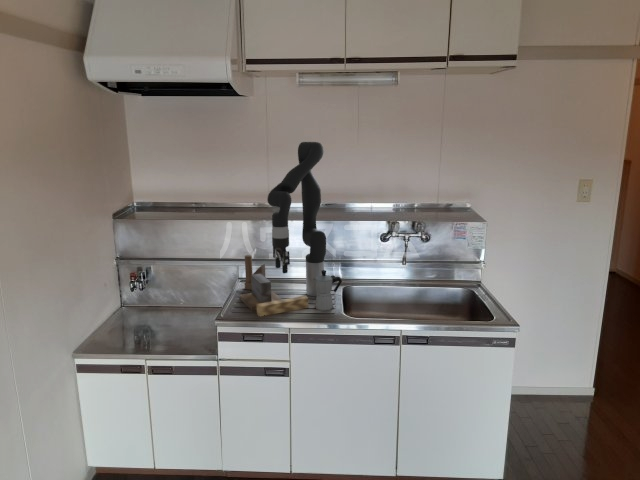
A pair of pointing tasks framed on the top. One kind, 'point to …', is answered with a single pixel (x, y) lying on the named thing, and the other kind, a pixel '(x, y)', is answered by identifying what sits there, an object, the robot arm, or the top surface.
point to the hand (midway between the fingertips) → (281, 270)
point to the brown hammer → (249, 271)
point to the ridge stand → (259, 292)
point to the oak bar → (282, 305)
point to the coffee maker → (325, 290)
